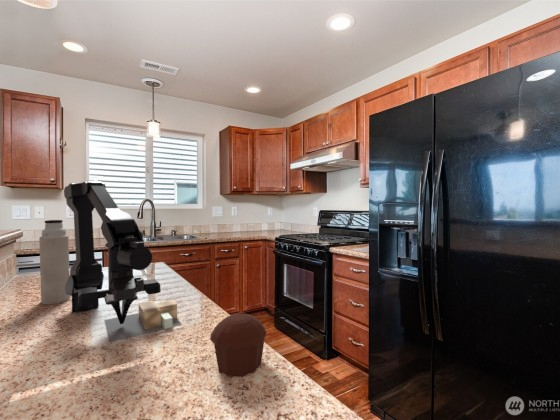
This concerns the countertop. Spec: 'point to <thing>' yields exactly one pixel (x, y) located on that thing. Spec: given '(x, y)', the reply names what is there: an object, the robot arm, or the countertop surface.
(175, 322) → the mat
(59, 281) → the thermos bottle
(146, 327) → the tee block
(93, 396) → the countertop surface
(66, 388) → the countertop surface
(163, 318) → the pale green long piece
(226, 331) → the muffin
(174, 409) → the countertop surface
